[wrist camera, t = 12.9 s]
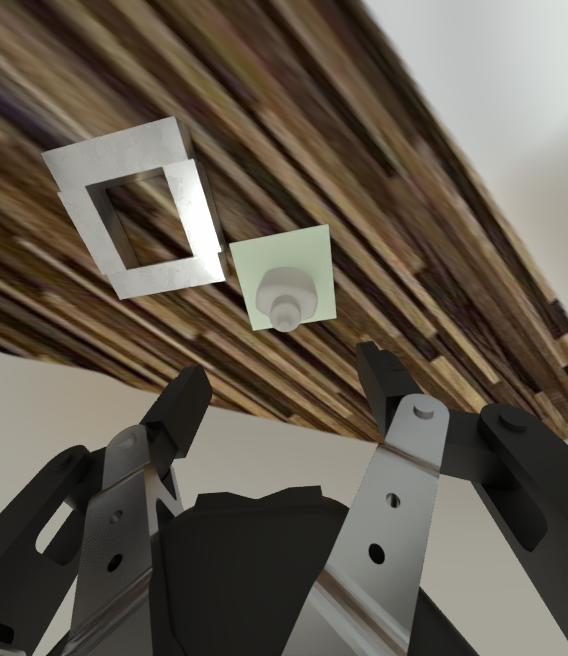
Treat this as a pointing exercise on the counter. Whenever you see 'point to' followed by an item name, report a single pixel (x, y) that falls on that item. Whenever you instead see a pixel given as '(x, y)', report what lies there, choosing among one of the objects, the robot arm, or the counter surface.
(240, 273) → the sage mat
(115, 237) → the collar block
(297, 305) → the eye dropper bottle
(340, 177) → the counter surface
